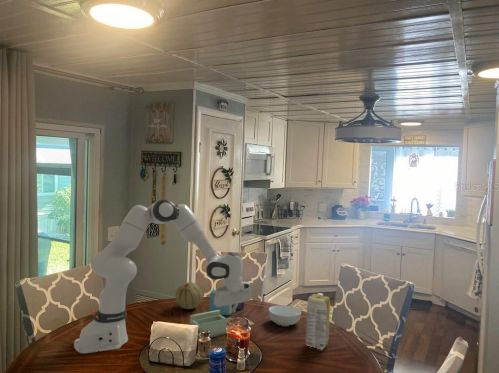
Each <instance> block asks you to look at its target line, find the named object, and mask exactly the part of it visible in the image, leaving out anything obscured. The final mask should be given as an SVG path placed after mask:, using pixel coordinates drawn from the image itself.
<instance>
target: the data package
mask: <svg viewBox="0 0 499 373" xmlns="http://www.w3.org/2000/svg"><path fill="white" fill-rule="evenodd" d="M215 290H216V289H215ZM215 290H214V289H213V290H211V291H210V293H209V308H208V309H209V310H208V312H210V311H215V310H220V315H221V316H230V315H232V313H229V308H228V306H227V305H226V306H221V307H217V306H215V305H214V297H215ZM231 308H232V306H231Z"/></svg>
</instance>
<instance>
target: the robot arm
mask: <svg viewBox="0 0 499 373" xmlns="http://www.w3.org/2000/svg"><path fill="white" fill-rule="evenodd" d="M168 222H170V223H171V224H172V225H174V226H175V228H176V229H177V231H178V232H179V234H180V235H181V237H182V238H183V239H184V240H185V241H186V242H187V243H189V244H193V245H195V246H196V247H197V248H198V250H199V251H200V252H201V254H202V256H203V257H204V258H205V261H206V275H207V276H208V278H210V279H212V280H224V284H223V285H224V286H218V287H216V289H215V297H214V305H215V306H217V307H221V306H226V305H227V306H228V308H229V313H231V314H232V313H233V314H234V313H236V310H237V309H236V308H237V306H238V303H242V302H244V303H246V302H247V303H248V302H250V301H251V299H252V290H251V283H249V282H247V281H245V280H243V277H242V276H243V274H242V273H243V271H244V270H243V267H244V266H243V265H244V264H243V256H241V254H239V253H237V252H234V251H233V252H232V251H231V252H230V251H229V252H227V253H226V254H224V255H221V254H220V253H218V252H217V251H216V250H215V249H214V247H213V246H212V244H211V243H210V241H209V240H208V238H207V236H206V233H205V231H204V228H203V226H202V224H201V222H200V220H199V219H198V217H197V215H196V214H195V213H194V212H193V211H192V209H191V208H190V207H189V206H188V205H187V204H185V203H180V204H175V203H174V202H173V201H171V200H169V199H165V198H163V199H159V200H158V201H155V202H154V203H152V204H151V205H149V206H148V207H146V206H144V205H141V204H136V205H134V206H132V208H131V209H130V210H129V212H127V213H126V215H125V217H124V219H122V222H121V224H120V225H119V228H118V230H117V231H116V234H115V235H114V237H113V238H112V239H111V241H110V242H109V243H108V244H107V245H106V246H105V248H103V249H102V250H100V252H97V253H96V254H94V255H93V256H92V259H91V260H90V268H91V270H92V271H93V272H94V273H95V274H96V275H97V276H99V277H102V278H105V280H106V281H105V287H104V288H103V289H102V290H100V292H99V295H98V296H99V300H98V302H99V304H98V305H99V306H98V310H97V311H96V310H91V315H92V316H93V320H92V321H90V322H89V323H88V324H87V325H86V326H84V327H83V328H82V329H81V331H80V334H79V338H76V339H75V340H74V341H73V347H74V349H75V351H76V352H78V353H80V354H90V353H97V352H98V351H99V352H103V351H104V352H105V351H112V350H118V349H120V348H121V347H122V346H123V345H124V344H126V343H127V342H128V341H129V336H128V333H127V325H126V321H127V308H126V294H127V290H128V287H129V284H130V283H131V281H133V280H134V279H135V278H136V275H137V271H138V266H137V264H136V263H135V262H134V261H133V260H131V259H130V258H129V257H127V255H129V254H130V253H131V252H133V251H135V250H136V249H137V248H138V247H139V244H140V243H141V240H142V239H143V236H144V234H145V232H146V230H147V228H148V226H149V225H155V226H158V225H165V224H166V223H168ZM232 304H234V306H233V308H231V306H232Z"/></svg>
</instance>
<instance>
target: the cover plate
mask: <svg viewBox="0 0 499 373" xmlns="http://www.w3.org/2000/svg"><path fill="white" fill-rule="evenodd" d="M244 318H245V319H247V320H248V321H249V324H250V326H249V327H253V326H255V322H253V321H251V320H249V319H248V318H246V317H244Z"/></svg>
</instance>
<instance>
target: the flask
mask: <svg viewBox="0 0 499 373" xmlns="http://www.w3.org/2000/svg"><path fill="white" fill-rule="evenodd" d="M233 306H234V304H232V308H233ZM244 308H245V302H242V303H238V306H237V308H236V310H237V311H238V310H241V311H243V310H244Z"/></svg>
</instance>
